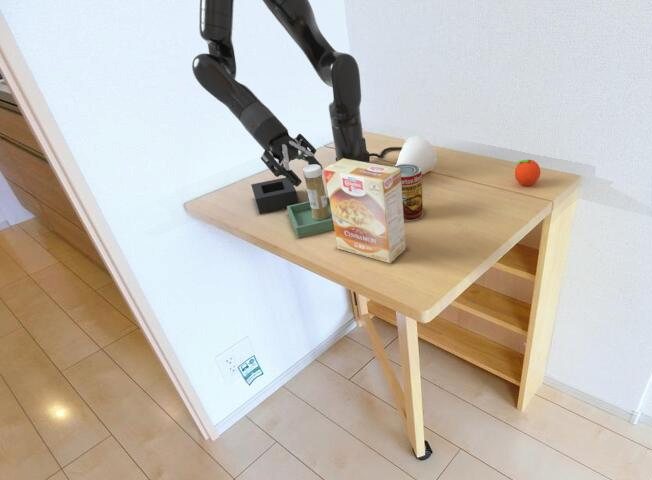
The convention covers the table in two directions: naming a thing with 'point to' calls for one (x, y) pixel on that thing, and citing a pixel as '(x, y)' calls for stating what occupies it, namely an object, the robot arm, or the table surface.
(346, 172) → the coffeecake box
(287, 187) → the holder
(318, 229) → the tray
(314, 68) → the robot arm
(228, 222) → the table surface
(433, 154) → the rocket engine
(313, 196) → the spice jar
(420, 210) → the canned food
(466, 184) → the table surface
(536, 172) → the clementine
